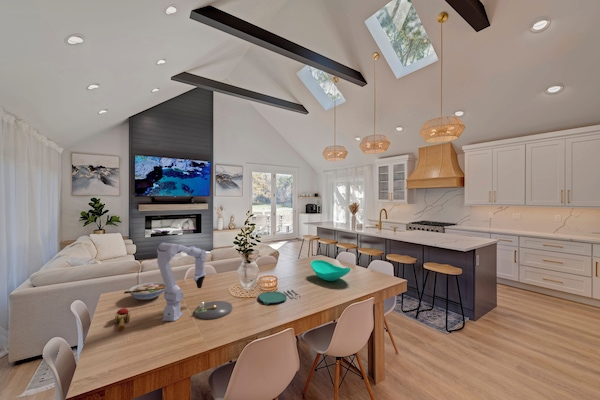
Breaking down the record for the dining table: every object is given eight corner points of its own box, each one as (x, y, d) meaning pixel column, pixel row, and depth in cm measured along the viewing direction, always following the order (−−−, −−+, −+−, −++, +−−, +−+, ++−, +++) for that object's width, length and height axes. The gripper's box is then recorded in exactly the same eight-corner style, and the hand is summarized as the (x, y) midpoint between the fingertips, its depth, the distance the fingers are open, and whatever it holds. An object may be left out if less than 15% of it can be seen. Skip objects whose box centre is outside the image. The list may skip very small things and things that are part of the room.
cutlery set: (254, 296, 176) (254, 293, 176) (291, 290, 190) (291, 287, 190) (263, 307, 159) (263, 304, 159) (304, 300, 173) (304, 297, 173)
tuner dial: (226, 319, 142) (226, 316, 142) (188, 319, 141) (188, 316, 141) (235, 303, 164) (235, 301, 164) (202, 303, 163) (202, 300, 163)
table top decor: (302, 277, 221) (303, 262, 221) (323, 271, 240) (323, 258, 240) (337, 289, 192) (337, 273, 192) (357, 282, 211) (358, 267, 211)
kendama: (131, 330, 131) (131, 312, 145) (129, 320, 129) (129, 303, 144) (113, 337, 126) (115, 318, 141) (111, 327, 125) (113, 308, 140)
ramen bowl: (170, 290, 185) (170, 279, 185) (167, 302, 164) (167, 289, 164) (131, 294, 175) (131, 282, 175) (122, 307, 154) (122, 294, 154)
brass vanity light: (216, 306, 155) (216, 298, 155) (217, 308, 152) (217, 300, 152) (197, 309, 149) (197, 302, 149) (197, 312, 147) (198, 304, 147)
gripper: (201, 270, 155) (201, 292, 155) (209, 264, 170) (209, 284, 170) (190, 270, 155) (190, 292, 155) (199, 264, 169) (199, 284, 169)
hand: (199, 287), depth 162 cm, fingers closed
